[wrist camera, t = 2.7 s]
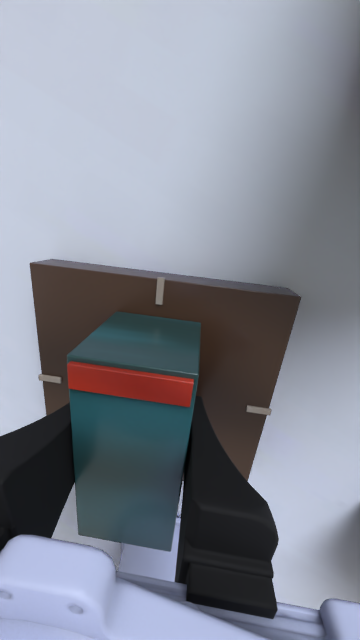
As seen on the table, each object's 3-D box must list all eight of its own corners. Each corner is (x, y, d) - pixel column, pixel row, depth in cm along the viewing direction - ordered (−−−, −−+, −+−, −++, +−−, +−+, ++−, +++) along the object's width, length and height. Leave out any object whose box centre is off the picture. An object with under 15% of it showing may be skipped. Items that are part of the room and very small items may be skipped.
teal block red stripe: (180, 460, 16) (170, 559, 11) (114, 448, 16) (75, 541, 11) (201, 322, 13) (198, 378, 8) (116, 310, 13) (62, 358, 8)
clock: (241, 466, 18) (246, 494, 16) (64, 437, 19) (48, 461, 17) (290, 286, 14) (305, 295, 12) (50, 257, 14) (24, 260, 12)
